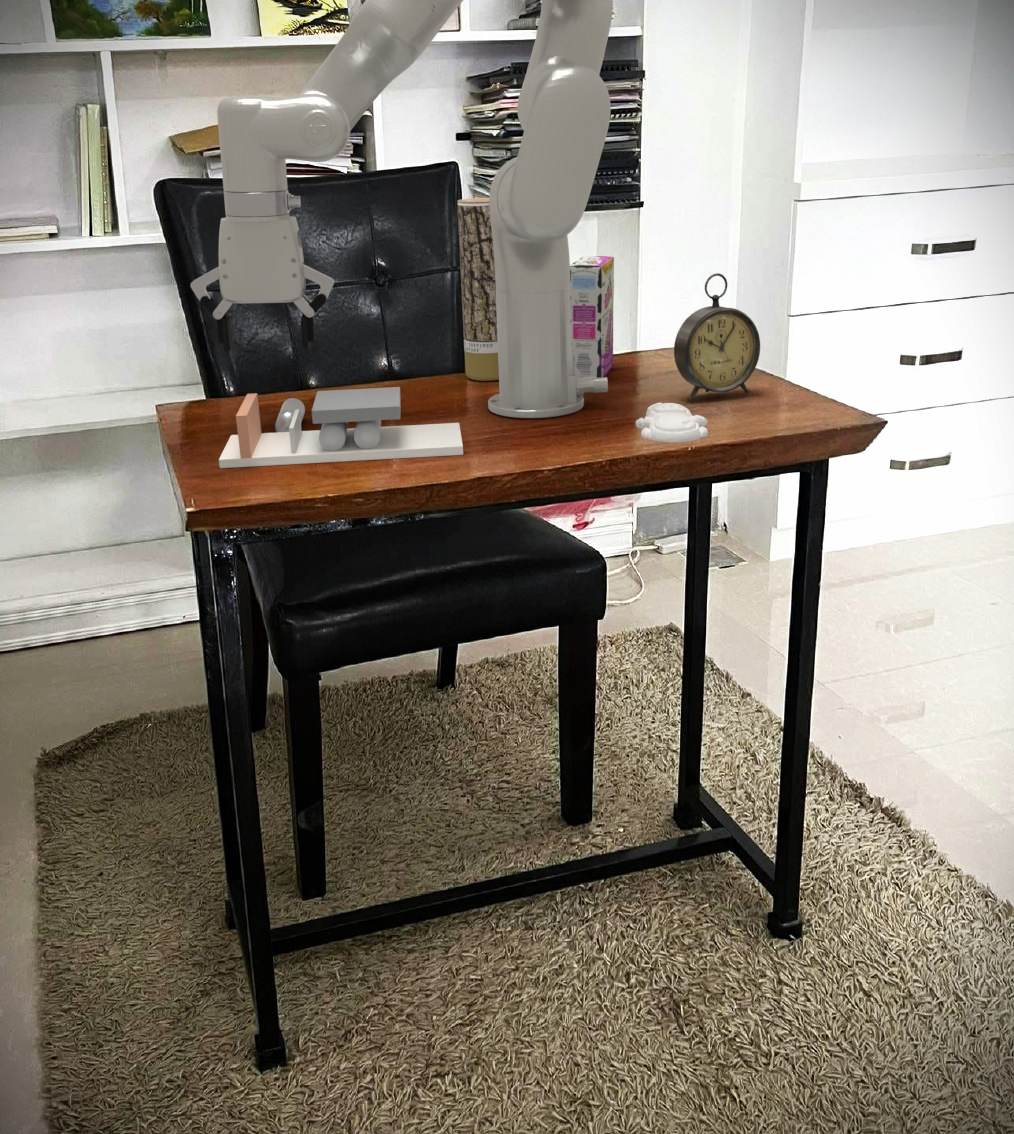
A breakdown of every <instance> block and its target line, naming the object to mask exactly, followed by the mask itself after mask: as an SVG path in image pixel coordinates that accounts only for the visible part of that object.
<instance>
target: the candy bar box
mask: <svg viewBox="0 0 1014 1134" xmlns="http://www.w3.org/2000/svg"><path fill="white" fill-rule="evenodd" d="M614 267H615V257H614V256H606V255H605V256H604V255H589V256H585V255H584V256H582V257H580V258H579V259H578V260H575V261H573V263H570V318H571V367H572V369H573V371H574V372H575V374H576V375H578V377H580V376H583V377H586V376H595V377H596V378H600V377H607V375H608V373H609V372H610V371H611V370H612V368H613V367H614V294H615V292H614V290H615V289H614V288H615V286H614V285H615V280H614V279H615V272H614V271H615V268H614ZM612 366H613V367H612Z"/></svg>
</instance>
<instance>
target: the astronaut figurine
mask: <svg viewBox="0 0 1014 1134" xmlns="http://www.w3.org/2000/svg"><path fill="white" fill-rule="evenodd" d="M707 426H708V420H707V418H706V417H704V416H703V415H699V414H695V415H693V414H692V413H691V411H690V409H689V408H687V407H685V406H684V405H682V404H680V403H674V402H663V403H662V402H656V403H654V404H651V405H649V406H648V407H647V409H646V413H645V417H644V418H643V417H640V418H639V419H638V418H637V420H636V421H635V428H637V429H639V430H641V431H640V437H641V438H642V439H644V440H651V441H654V442H655V441H656V442H661V443H687V442H693V441H697V440H700V439H701V438H702V439H703V438H707V437H708V436H709V431H708V429H707V428H706V427H707Z"/></svg>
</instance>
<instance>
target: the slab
mask: <svg viewBox="0 0 1014 1134" xmlns="http://www.w3.org/2000/svg"><path fill="white" fill-rule="evenodd" d="M401 399H402V398H401V387H400V386H392V387H391V386H390V387H389V386H388V387H371V388H370V387H369V388H355V389H353V388H351V389H335V390H333V389H332V390H317V391H316V395H315V399H314V401H313V404H312V408H311V417H312V424H314V425H315V424H322V423H337V422H348V423H351V422H352V423H353V422H355V423H356V421H374V420H381V421H388V420H391V421H392V420H401V411H402V410H401V408H402V406H401V401H402V400H401Z"/></svg>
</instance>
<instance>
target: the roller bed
mask: <svg viewBox="0 0 1014 1134" xmlns="http://www.w3.org/2000/svg"><path fill="white" fill-rule="evenodd" d="M241 403H242V404H241V405H240V407H239V409H238V410H237V413H236V415H235V422H236V427H237V429H236V430H237V434H231V435H230V437H229V439H228V441H227V442H226V445H225V447H224V449H223V451H222V452H221V454H220V457H219V458H218V465H219V469H227V468H230V469H231V468H248V467H265V466H267V467H269V466H281V465H282V466H283V465H284V466H285V465H286V466H287V465H303V464H318V463H339V462H353V461H354V462H356V461H359V462H360V461H371V460H372V461H374V460H375V461H376V460H390V459H391V460H392V459H393V460H394V459H410V458H411V459H412V458H427V457H443V456H444V457H447V456H463V455H464V445H463V438H462V432H461V427H460V425H461V424H460V422H448V423H428V424H415V425H412V424H411V425H410V424H409V425H393V426H391V425H390V426H382V420H374V421H356V422H355V425H354V426H355V427H352V428H348V425H349V422H337V423H321V427H320V429H316V430H302V422H301V419H300V409H295V412H294V415H293V418H292V421H291V424H290V427H289V432H264V433H263V432H262V425H261V417H260V416H261V415H260V406H259V398H258V393H256V392H255V393H247V394H246V395H245V398H244V399H243V401H242V402H241Z"/></svg>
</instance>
